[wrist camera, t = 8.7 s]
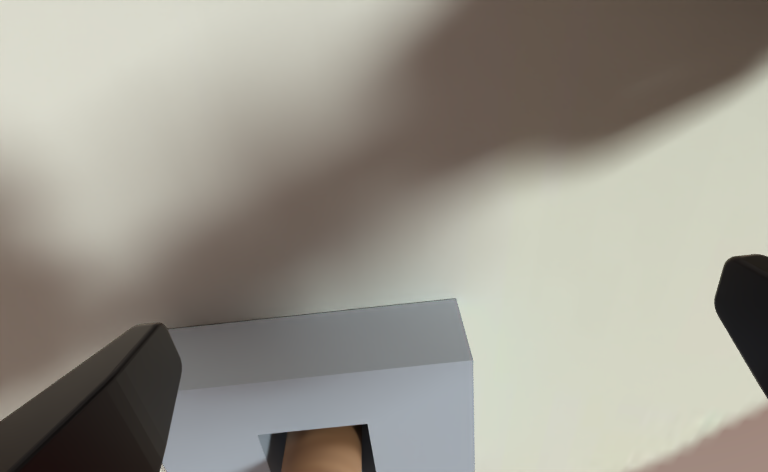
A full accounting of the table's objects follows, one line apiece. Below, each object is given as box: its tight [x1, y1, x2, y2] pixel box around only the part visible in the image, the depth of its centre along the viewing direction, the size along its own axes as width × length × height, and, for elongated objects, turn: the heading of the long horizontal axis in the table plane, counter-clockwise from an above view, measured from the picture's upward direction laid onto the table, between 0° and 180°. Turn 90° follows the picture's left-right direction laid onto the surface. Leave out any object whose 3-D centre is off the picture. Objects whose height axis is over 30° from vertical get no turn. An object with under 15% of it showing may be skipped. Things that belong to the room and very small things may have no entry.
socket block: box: [162, 299, 475, 472], centre depth 24 cm, size 14×11×4 cm
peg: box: [281, 424, 362, 472], centre depth 22 cm, size 4×4×8 cm
